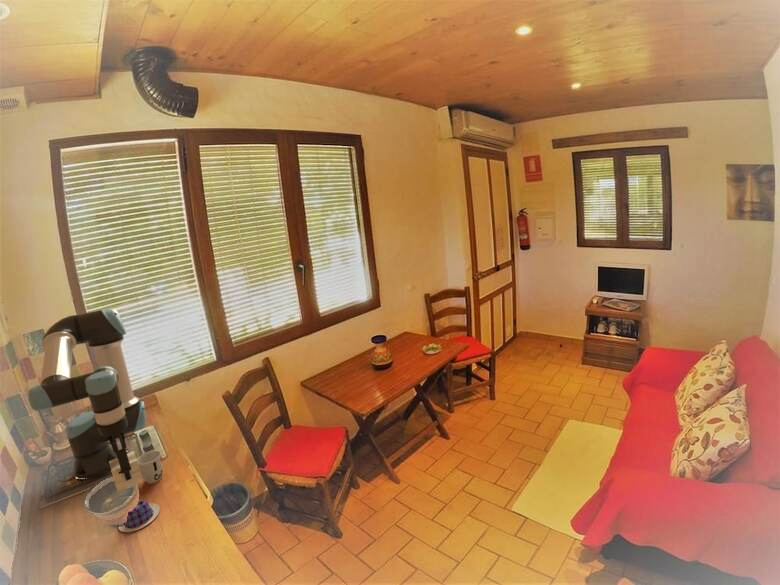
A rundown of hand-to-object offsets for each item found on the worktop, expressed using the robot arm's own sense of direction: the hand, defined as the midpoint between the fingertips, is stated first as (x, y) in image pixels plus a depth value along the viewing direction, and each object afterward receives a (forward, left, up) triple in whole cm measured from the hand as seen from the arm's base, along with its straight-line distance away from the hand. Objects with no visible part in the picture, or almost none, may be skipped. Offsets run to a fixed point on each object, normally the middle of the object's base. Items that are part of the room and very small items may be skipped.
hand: (128, 480), depth 124 cm
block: (0, 0, 0) cm, 0 cm away
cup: (-19, +8, -16) cm, 26 cm away
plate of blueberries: (0, 0, -16) cm, 16 cm away
